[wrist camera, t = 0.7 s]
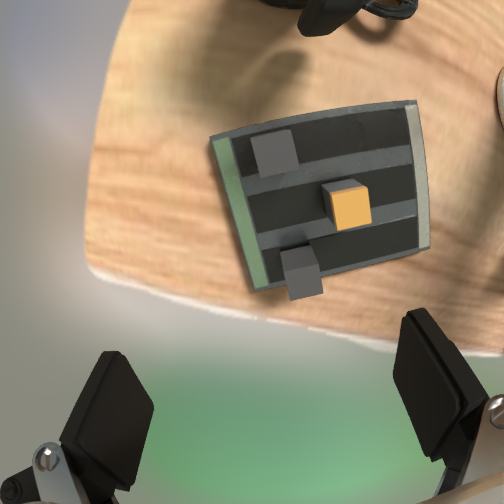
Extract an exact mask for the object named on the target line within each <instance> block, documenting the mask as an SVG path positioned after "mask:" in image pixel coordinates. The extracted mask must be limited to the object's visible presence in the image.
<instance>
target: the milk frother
mask: <svg viewBox="0 0 504 504" xmlns="http://www.w3.org/2000/svg"><path fill="white" fill-rule="evenodd" d="M259 1H261V2H263V3H266V4H268V5H271V6H275V7H279V8H286V9H301V8H304V10H303V12H302V14H301V16H300V17H299V20H298V23H297V27H298V29H299V31H300V33H301V34H302V35H303V36H306V37H316V36H324V35H328V34H330V33H332V32H333V31H335V30H336V29H337V28H338V27H340V26H341V25H342V24H344V23H345V22H346V21H347V20H349V19H350V18H351V17H352V16H354V15H355V14H356V13H357V12H358V11H359V10H360V9H361V8H362V9H364V10H366V11H368V12H370V13H372V14H375V15H377V16H380V17H383V18H387V19H392V20H404V19H408V18H410V17H411V16H412V15H413V14H414V13H415V11H416V9H417V8H418V0H397V2H398V4H399V6H398V7H387V6H384V5H381V4H379V3H377V2H374V1H373V0H259Z"/></svg>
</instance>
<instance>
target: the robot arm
mask: <svg viewBox="0 0 504 504" xmlns="http://www.w3.org/2000/svg"><path fill="white" fill-rule="evenodd" d="M497 101H498V109H499V114H500V118H501V121H502V125H503V128H504V68H503V69H502V71H501V73H500V75H499V80H498V87H497ZM393 379H394V382H395V384H396V387H397V389H398V391H399V393H400V396H401V398H402V400H403V403H404V405H405V407H406V410H407V412H408V415H409V417H410V420H411V422H412V425H413V427H414V430H415V432H416V435H417V437H418V440H419V443H420V445H421V448H422V450H423V453H424V455H425V456H426V457H429V456H430V459H431V462H434V461H437V460H439V459H441V458H443V461H444V463H445V466H446V468H445V470H444V473H443V475H442V477H441V480H440V482H439V485H438V487H437V489H436V491H435V493H434V495H433V497H432V498H431V499H428V500H426V501H423V502H421V503H418V504H504V394H499V395H495V396H493V397H492V398H489V396H488V394H487V393H486V391H485V389H484V388H483V386H482V385H481V384H480V382H479V380H478V378H477V377H476V375H475V374H474V372H473V371H472V369H471V368H470V366H469V365H468V363H467V362H466V360H465V359H464V357H463V356H462V355H461V353H460V352H459V350H458V349H457V347H456V346H455V345H454V343H453V342H452V341H450V340H448V338H447V337H446V336H445V334H444V333H443V331H442V330H441V329H440V327H439V326H438V325H437V323H436V322H435V321H434V319H433V318H432V317H431V315H430V314H429V313H428V311H427V310H426V309H425V308H419V309H415V310H411V311H408V312H407V314H406V316H405V317H403V318H402V322H401V329H400V336H399V342H398V348H397V353H396V359H395V364H394V369H393ZM153 411H154V405H153V402H152V400H151V399H150V397H149V395H148V394H147V392H146V391H145V389H144V388H143V386H142V384H141V382H140V381H139V379H138V378H137V376H136V374H135V372H134V371H133V369H132V367H131V366H130V364H129V362H128V360H127V358H126V357H125V356H124V355H122V354H121V353H120V352H119V351H104V352H103V353H102V354H101V356H100V357H99V359H98V361H97V363H96V365H95V367H94V369H93V371H92V372H91V375H90V377H89V378H88V380H87V382H86V384H85V386H84V388H83V390H82V392H81V394H80V396H79V398H78V400H77V402H76V404H75V406H74V408H73V410H72V413H71V414H70V417H69V419H68V421H67V423H66V425H65V427H64V430H63V432H62V434H61V436H60V438H59V441H60V442H61V446H59V445H58V444H56V443H54V442H47V443H44V444H42V445H40V446H39V447H38V448H37V449H36V451H35V452H34V454H33V458H32V466H31V467H29V468H27V469H25V470H23V471H21V472H19V473H17V474H15V475H13V476H11V477H9V478H7V479H6V480H5V481H4V482H3V484H2V486H1V489H0V504H119V502H118V501H117V499H116V497H115V495H114V492H115V488H116V489H119V490H123V491H128V492H129V491H130V487H131V486H132V485H133V484H134V483H135V480H136V475H137V471H138V467H139V463H140V460H141V455H142V452H143V448H144V444H145V441H146V437H147V433H148V429H149V426H150V422H151V418H152V415H153Z"/></svg>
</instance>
